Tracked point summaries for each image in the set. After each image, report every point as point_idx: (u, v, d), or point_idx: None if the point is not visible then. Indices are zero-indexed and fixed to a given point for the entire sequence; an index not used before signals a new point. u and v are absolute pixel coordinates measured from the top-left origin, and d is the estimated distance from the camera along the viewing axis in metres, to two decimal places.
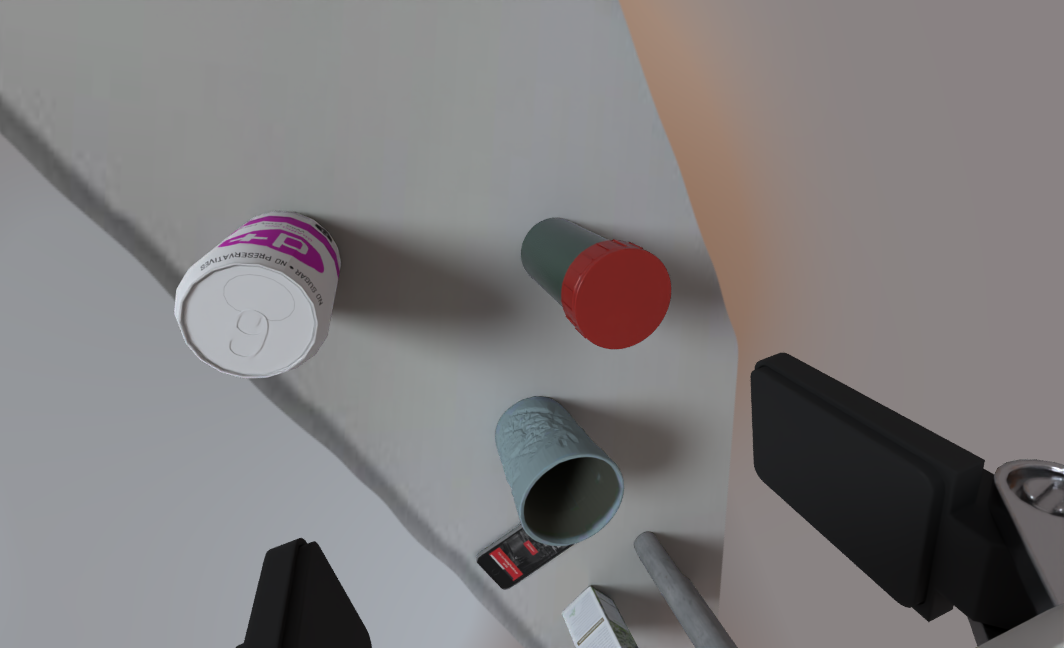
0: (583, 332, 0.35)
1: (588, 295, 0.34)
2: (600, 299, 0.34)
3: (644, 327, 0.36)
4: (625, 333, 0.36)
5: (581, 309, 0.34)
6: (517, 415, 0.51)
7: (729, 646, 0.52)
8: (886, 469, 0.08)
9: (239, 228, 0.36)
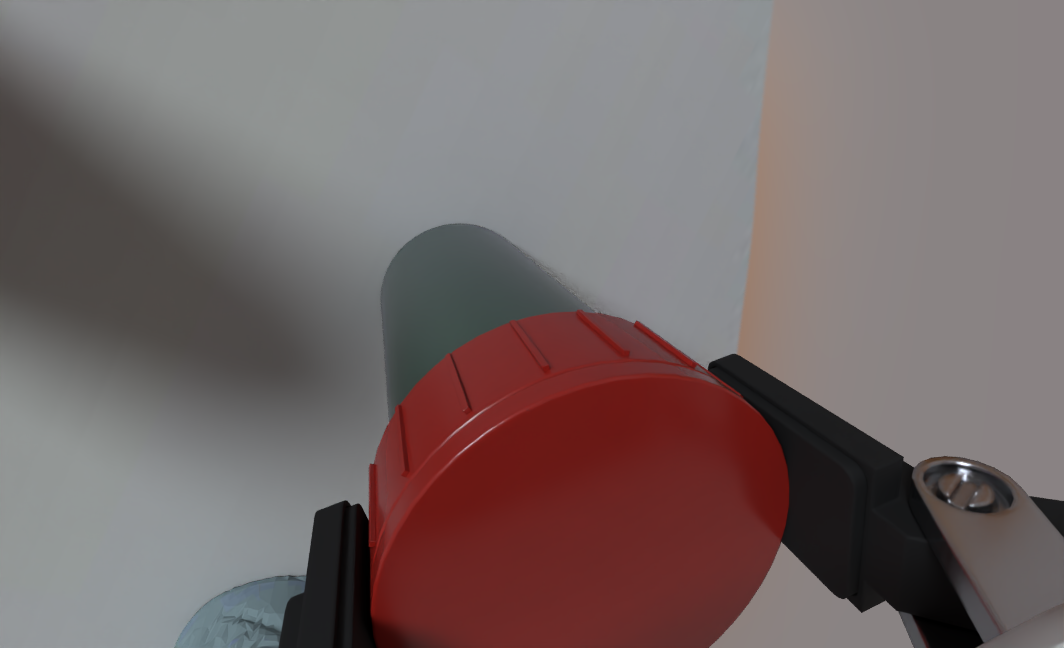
0: None
1: (467, 522, 0.07)
2: (514, 551, 0.08)
3: None
4: None
5: (411, 572, 0.07)
6: (235, 622, 0.21)
7: None
8: (817, 466, 0.08)
9: None
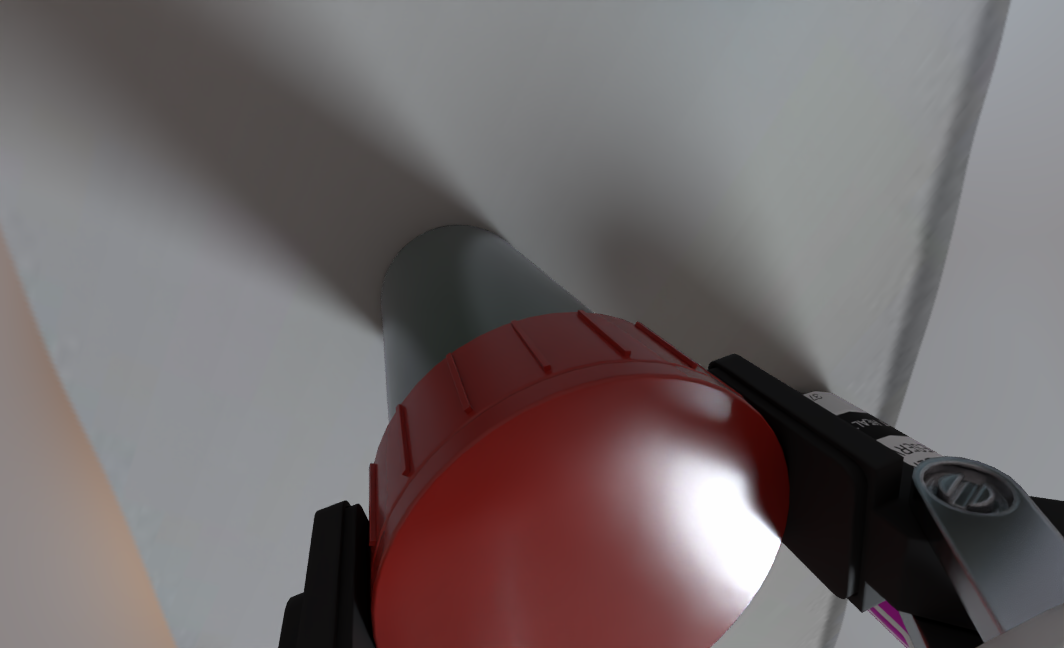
0: None
1: (468, 521, 0.07)
2: (514, 552, 0.08)
3: None
4: None
5: (412, 571, 0.07)
6: None
7: None
8: (817, 466, 0.08)
9: None
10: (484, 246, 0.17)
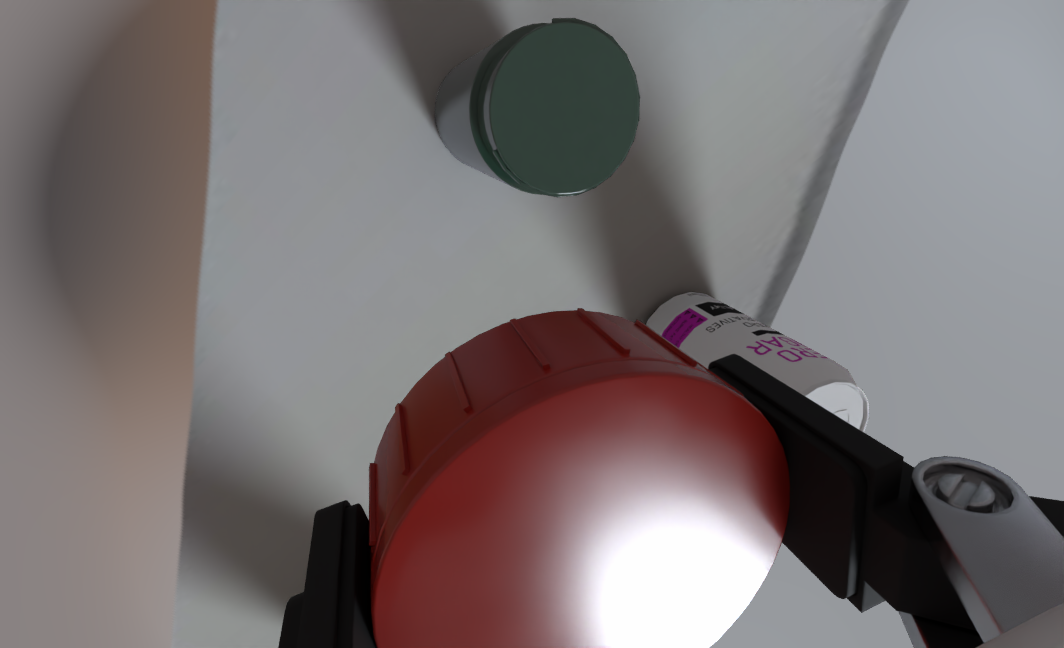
0: None
1: (467, 521, 0.07)
2: (514, 551, 0.08)
3: None
4: None
5: (412, 571, 0.07)
6: None
7: None
8: (817, 465, 0.08)
9: None
10: None
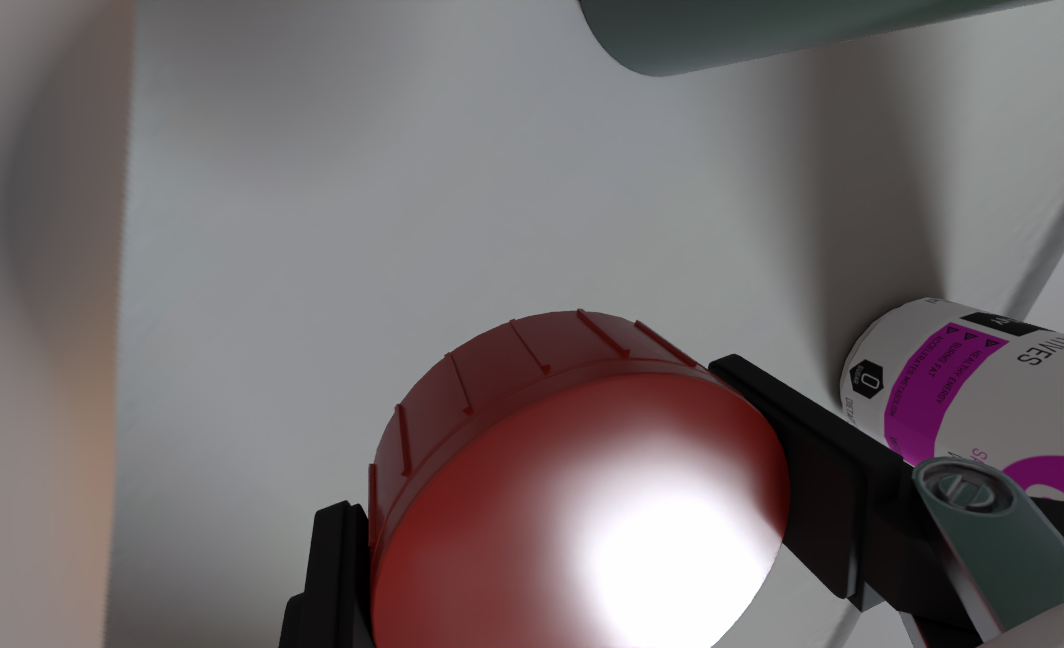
0: None
1: (467, 521, 0.07)
2: (514, 551, 0.07)
3: None
4: None
5: (411, 571, 0.07)
6: None
7: None
8: (817, 465, 0.08)
9: None
10: None
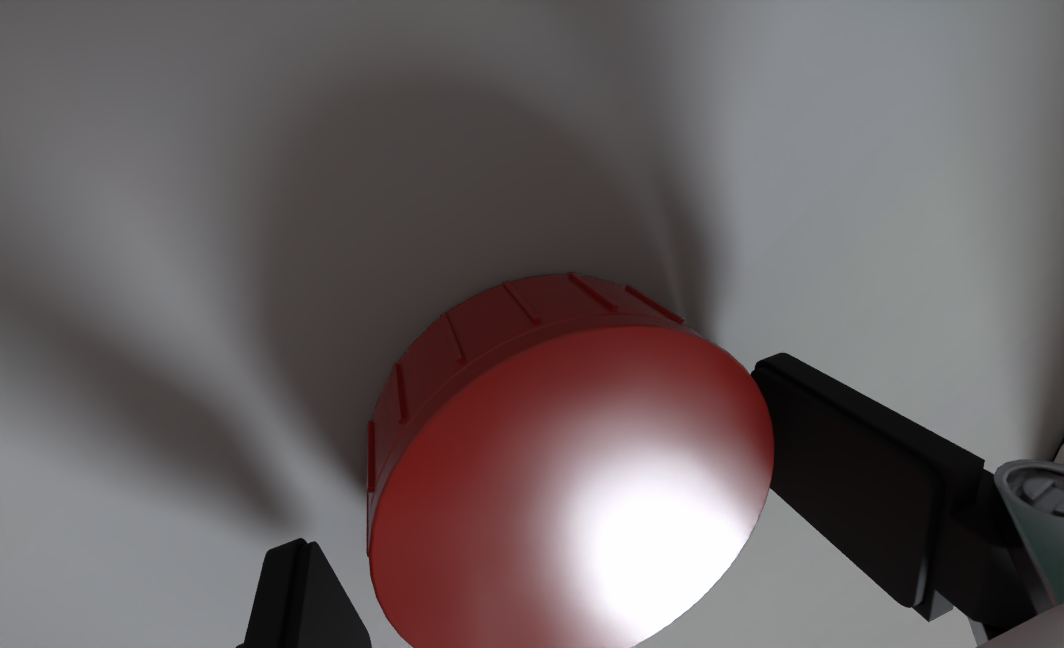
0: (384, 602, 0.08)
1: (461, 466, 0.07)
2: (506, 497, 0.08)
3: (619, 625, 0.10)
4: (548, 633, 0.09)
5: (407, 514, 0.07)
6: None
7: None
8: (886, 469, 0.08)
9: None
10: None
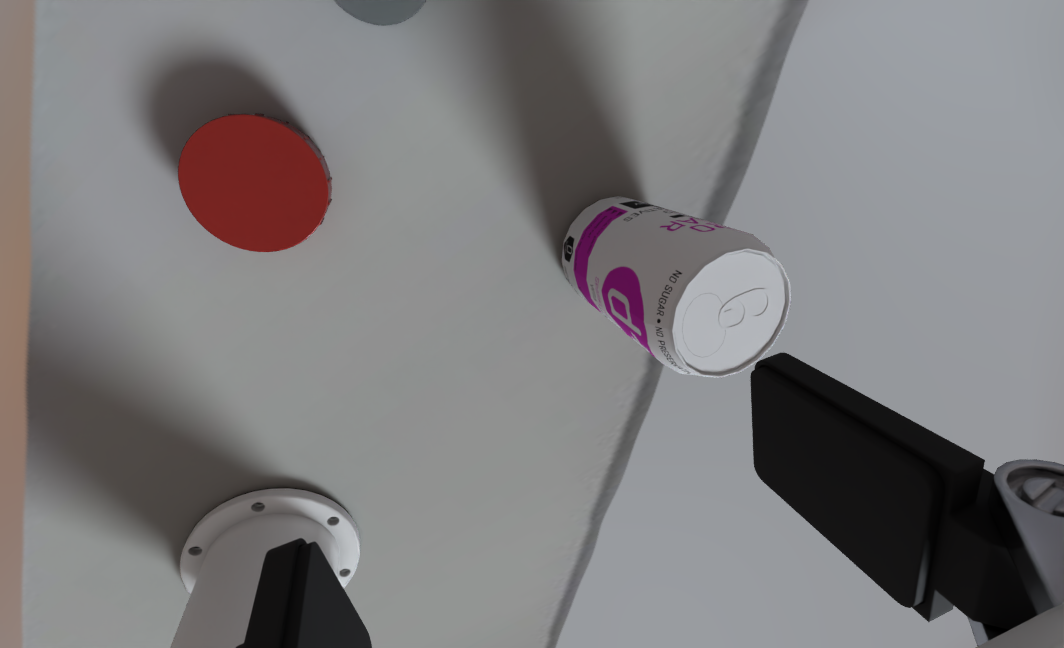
0: (185, 198, 0.27)
1: (204, 152, 0.27)
2: (221, 167, 0.27)
3: (277, 235, 0.29)
4: (248, 230, 0.28)
5: (188, 166, 0.27)
6: None
7: None
8: (886, 469, 0.08)
9: None
10: None
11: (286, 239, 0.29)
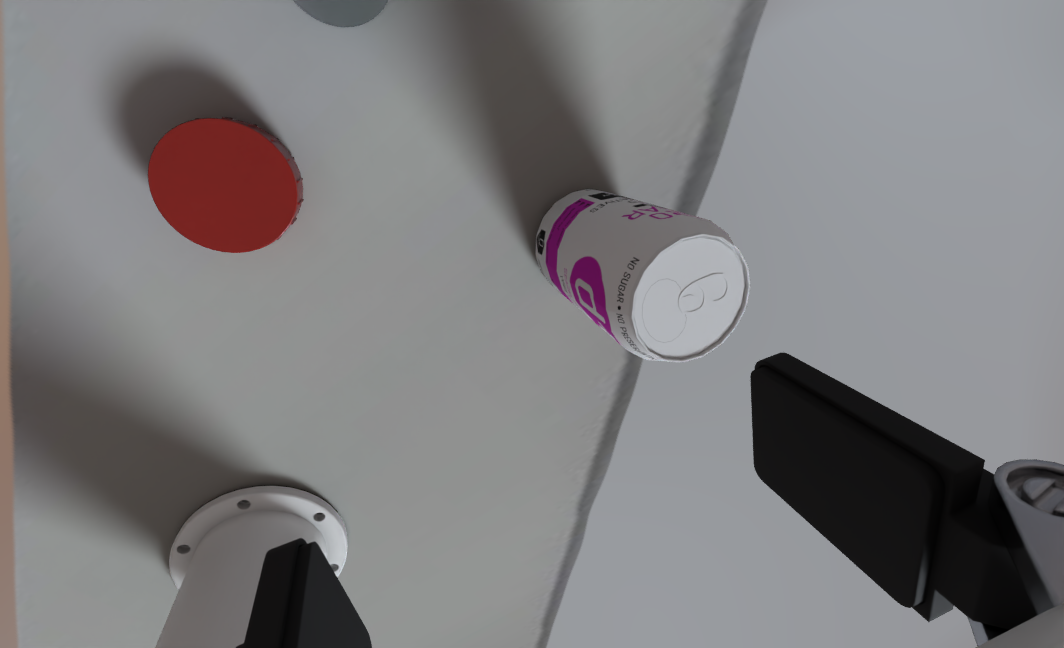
0: (156, 202, 0.28)
1: (172, 157, 0.27)
2: (190, 171, 0.28)
3: (249, 236, 0.30)
4: (219, 231, 0.29)
5: (158, 170, 0.27)
6: None
7: None
8: (886, 469, 0.08)
9: None
10: None
11: (258, 239, 0.30)
